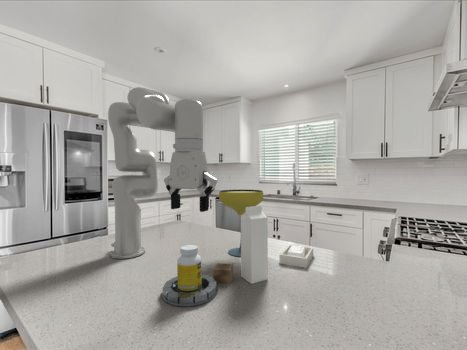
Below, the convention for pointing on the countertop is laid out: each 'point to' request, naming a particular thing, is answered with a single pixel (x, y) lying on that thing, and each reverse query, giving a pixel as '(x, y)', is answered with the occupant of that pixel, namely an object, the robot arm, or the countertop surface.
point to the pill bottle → (189, 270)
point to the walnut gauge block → (223, 273)
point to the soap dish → (296, 260)
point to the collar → (189, 300)
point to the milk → (254, 245)
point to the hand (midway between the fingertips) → (189, 209)
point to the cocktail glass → (240, 205)
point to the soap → (296, 251)
